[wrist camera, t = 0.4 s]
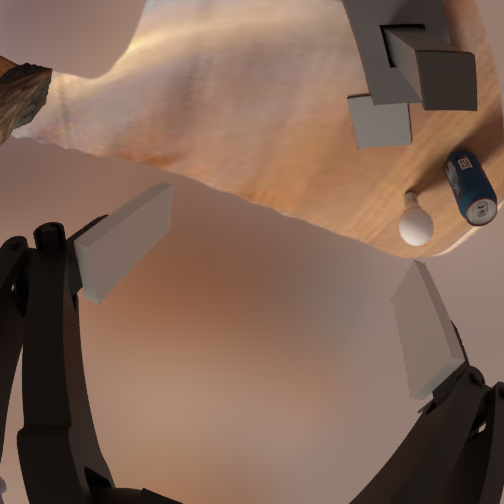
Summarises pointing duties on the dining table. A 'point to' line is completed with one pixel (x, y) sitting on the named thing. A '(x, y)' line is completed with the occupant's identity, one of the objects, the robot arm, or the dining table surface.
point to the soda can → (471, 188)
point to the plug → (432, 67)
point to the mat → (379, 123)
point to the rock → (22, 96)
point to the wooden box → (6, 65)
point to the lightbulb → (415, 222)
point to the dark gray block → (373, 49)
